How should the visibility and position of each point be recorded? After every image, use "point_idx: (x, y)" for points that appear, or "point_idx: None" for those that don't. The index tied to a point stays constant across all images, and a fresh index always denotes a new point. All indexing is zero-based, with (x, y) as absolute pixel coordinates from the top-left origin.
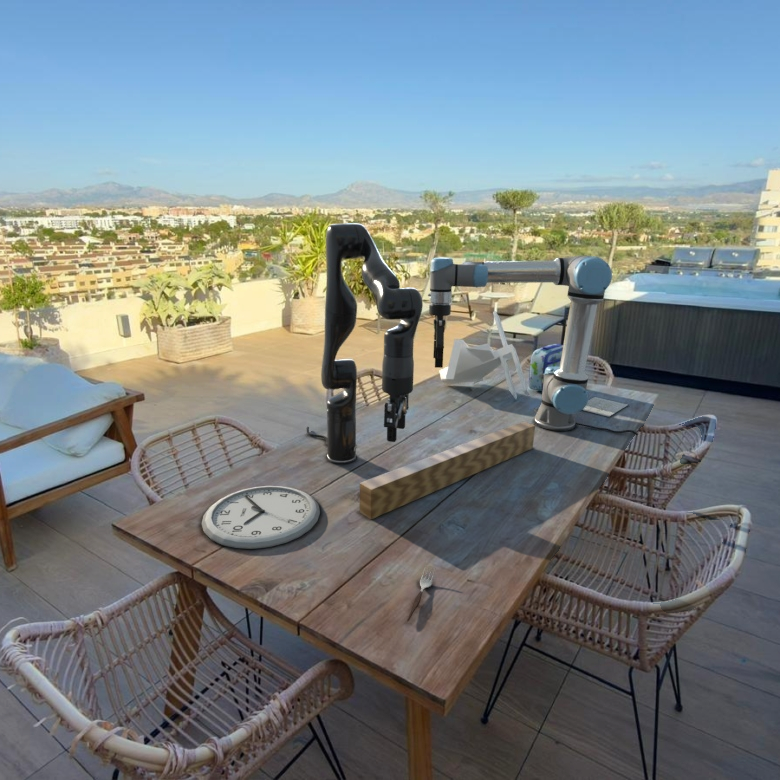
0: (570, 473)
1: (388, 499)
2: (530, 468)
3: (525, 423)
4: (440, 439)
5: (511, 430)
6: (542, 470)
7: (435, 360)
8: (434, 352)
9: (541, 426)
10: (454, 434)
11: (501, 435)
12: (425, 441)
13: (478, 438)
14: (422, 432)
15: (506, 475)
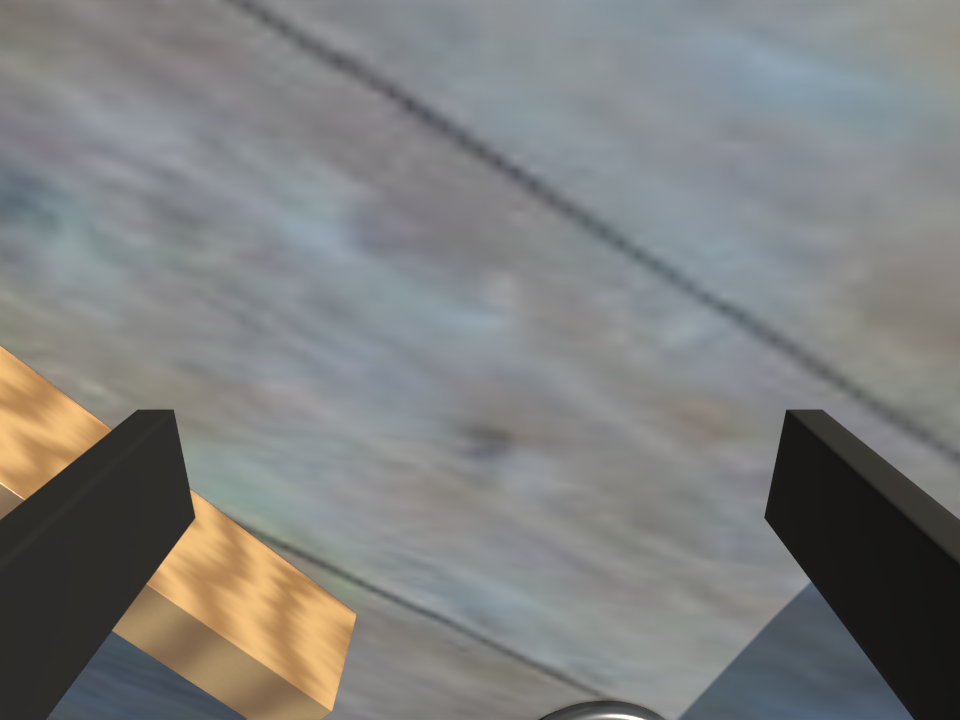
0: (116, 710)
1: None
2: None
3: (301, 714)
4: (354, 272)
5: (182, 647)
6: (112, 639)
7: (63, 480)
8: (841, 478)
9: (553, 716)
10: (437, 351)
11: None
12: (310, 185)
13: (7, 491)
14: (448, 169)
15: None
